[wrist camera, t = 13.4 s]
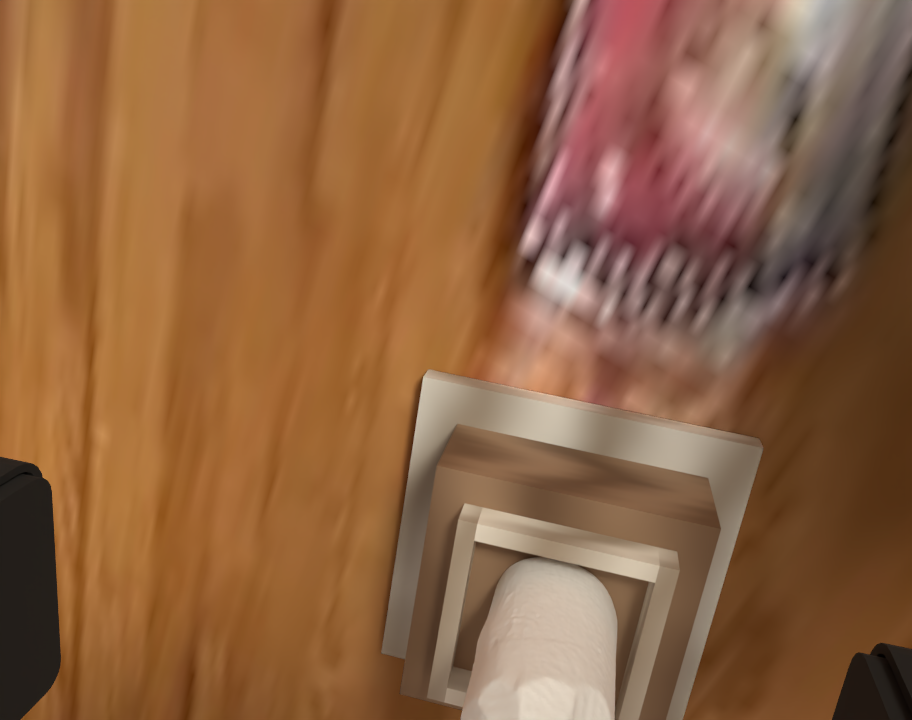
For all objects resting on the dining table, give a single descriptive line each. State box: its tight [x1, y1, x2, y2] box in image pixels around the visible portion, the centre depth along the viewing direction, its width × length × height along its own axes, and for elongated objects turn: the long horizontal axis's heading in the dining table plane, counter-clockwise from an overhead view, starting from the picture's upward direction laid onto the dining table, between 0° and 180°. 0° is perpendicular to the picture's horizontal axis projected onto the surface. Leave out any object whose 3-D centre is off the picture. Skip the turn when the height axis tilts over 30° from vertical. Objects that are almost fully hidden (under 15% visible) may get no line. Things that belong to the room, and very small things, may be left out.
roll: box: [460, 557, 617, 720], centre depth 31 cm, size 6×12×6 cm
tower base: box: [381, 369, 763, 720], centre depth 39 cm, size 16×16×8 cm
